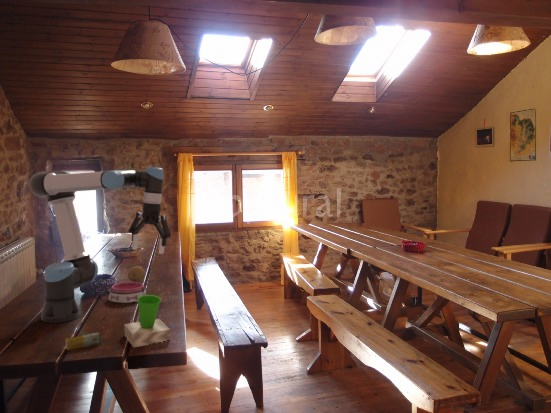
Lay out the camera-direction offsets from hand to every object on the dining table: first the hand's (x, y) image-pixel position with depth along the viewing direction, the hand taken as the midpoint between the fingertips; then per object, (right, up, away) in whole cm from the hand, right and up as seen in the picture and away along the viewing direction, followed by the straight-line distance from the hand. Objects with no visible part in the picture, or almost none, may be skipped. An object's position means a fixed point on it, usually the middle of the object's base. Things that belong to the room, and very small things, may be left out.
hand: (147, 251), depth 203 cm
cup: (+5, -27, -20) cm, 34 cm away
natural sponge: (-22, -24, +58) cm, 67 cm away
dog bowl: (-18, -27, +31) cm, 45 cm away
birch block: (+5, -33, -20) cm, 39 cm away
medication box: (-16, -33, -29) cm, 47 cm away
